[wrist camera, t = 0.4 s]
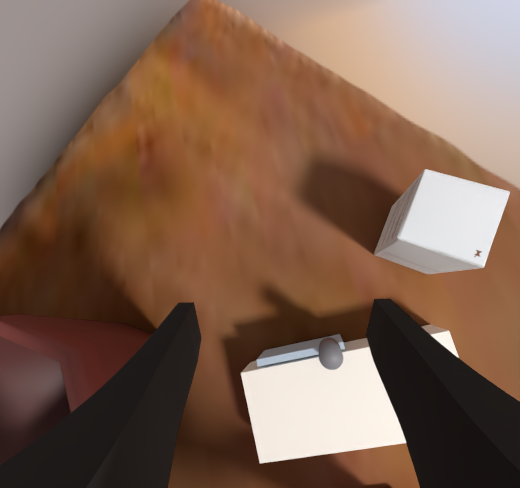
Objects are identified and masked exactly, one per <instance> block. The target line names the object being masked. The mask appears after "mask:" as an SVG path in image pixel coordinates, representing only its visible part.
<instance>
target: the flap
mask: <svg viewBox="0 0 520 488" xmlns="http://www.w3.org/2000/svg"><path fill="white" fill-rule="evenodd" d="M342 349H345V346H344V343H343V340H342V338H341V335H340V334H338V335H333V336H328V337H324V338H319V339H314V340H310V341H305V342H300V343H296V344H291V345H286V346H282V347H277V348H272V349H268V350H264V351H263V352H262V354H261V355H260V356H259V357H258V358H257V360H256V361H257V366H258V367H259V366H264V365H269V364H274V363H279V362H284V361H289V360H293V359H298V358H303V357H308V356H313V355H318V354H319V361H320V363H321V364H322V366H323V367H325V368H326V369H329V370H335V369H338V368H339V367H340V366H341V365H342V363H343V354H342V351H341V350H342Z"/></svg>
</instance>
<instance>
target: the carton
mask: <svg viewBox="0 0 520 488" xmlns="http://www.w3.org/2000/svg"><path fill="white" fill-rule="evenodd" d="M421 327H422V328H423V329H424V330H425V331H427V332H428V333H429V334H430V335H431V336H432V337H434V338H435V339H436V340H437V341H438V342H439V343H441V344H442V345H443V346H444V347H445V348H447V349H448V350H449V351H450V352H452V353H453V354H454V355H455V356H457V357H458V354H457V351H456V349H455V346H454V343H453V340H452V338H451V335H450V332H449V331H448V330H445V329H442V328H439V327H437V326H434V325H431V324H430V325H425V326H421ZM344 346H345V349H342V350H341V351H342V354H343V363H342V365H341V366H340V367H339V368H338V369H335V370H329V369H326V368H325V367H323V366H322V364H321V363H320V361H319V354H318V355H313V356H308V357H303V358H298V359H293V360H289V361H284V362H279V363H274V364H269V365H264V366H259V367H258V366H257V361H253V362H250V363H249V364H248V365H247V367H246V368H245V369H244V370H243V371H242V372H241V377H242V382H243V386H244V391H245V396H246V401H247V405H248V410H249V415H250V419H251V424H252V429H253V434H254V438H255V443H256V448H257V452H258V457H259V462H260V463H267V462H274V461H282V460H289V459H296V458H303V457H310V456H317V455H324V454H331V453H338V452H345V451H352V450H359V449H366V448H373V447H380V446H387V445H394V444H401V443H406V440H405V437H404V434H403V431H402V429H401V426H400V423H399V421H398V418H397V416H396V413H395V411H394V409H393V406H392V404H391V402H390V399H389V397H388V395H387V392H386V390H385V387H384V385H383V383H382V380H381V378H380V376H379V373H378V371H377V368H376V366H375V363H374V361H373V358H372V355H371V351H370V348H369V344H368V340H367V338H363V339H358V340H353V341H349V342H344ZM458 358H459V357H458Z"/></svg>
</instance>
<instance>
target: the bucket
mask: <svg viewBox="0 0 520 488" xmlns="http://www.w3.org/2000/svg"><path fill="white" fill-rule="evenodd" d="M151 335H152V334H151V333H148V332H146V331H143V330H140V329H138V328H135V327H132V326H130V325H127V324H124V323H113V322H102V321H91V320H79V319H68V318H57V317H45V316H34V315H23V314H17V315H6V316H0V465H1V464H3V463H4V462H6V461H7V460H9V459H10V458H12V457H13V456H14V455H16V454H17V453H19V452H20V451H22V450H23V449H24V448H26V447H27V446H28V445H30V444H31V443H33V442H34V441H35V440H37V439H38V438H39V437H41V436H42V435H43V434H45V433H46V432H47V431H49V430H50V429H51V428H53V427H54V426H55V425H57V424H58V423H59V422H60V421H62V420H63V419H64V418H65V417H67V416H68V415H69V414H70V413H72V412H73V411H74V410H75V409H76V408H78V407H79V406H80V405H81V404H82V403H84V402H85V401H86V400H87V399H88V398H89V397H91V396H92V395H93V394H94V393H95V392H96V391H97V390H99V389H100V388H101V387H102V386H103V385H104V384H105V383H106V382H107V381H108V380H109V379H110V378H111V377H113V376H114V375H115V374H116V373H117V372H118V371H119V370H120V369H121V368H122V367H123V366H124V365H125V364H126V363H127V361H128V360H129V359H130V358H131V357H132V356H133V355H134V354H135V353H136V352H137V351H138V350H139V349H140V348H141V347H142V346H143V344H144V343H145V342H146V341H147V340H148V339H149V338H150V336H151Z"/></svg>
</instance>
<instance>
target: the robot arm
mask: <svg viewBox="0 0 520 488" xmlns="http://www.w3.org/2000/svg"><path fill="white" fill-rule="evenodd" d="M366 337H367V340H368V344H369V348H370V351H371V355H372V358H373V361H374V363H375V366H376V368H377V371H378V373H379V376H380V378H381V380H382V383H383V385H384V387H385V390H386V392H387V395H388V397H389V399H390V402H391V404H392V406H393V409H394V411H395V413H396V416H397V418H398V421H399V423H400V426H401V429H402V431H403V434H404V437H405V440H406V443H407V446H408V450H409V453H410V456H411V459H412V462H413V465H414V469H415V472H416V475H417V478H418V482H419V485H420V488H520V402H519V401H518V400H516V399H515V398H513V397H512V396H510V395H509V394H507V393H506V392H504V391H503V390H501V389H500V388H499V387H497V386H496V385H494V384H493V383H491V382H490V381H489V380H487V379H486V378H484V377H483V376H481V375H480V374H479V373H477V372H476V371H475V370H473V369H472V368H471V367H469V366H468V365H467V364H465V363H464V362H463V361H462V360H460V359H459V358H458V357H457V356H455V355H454V354H453V353H452V352H450V351H449V350H448V349H447V348H445V347H444V346H443V345H442V344H441V343H439V342H438V341H437V340H436V339H435V338H434V337H432V336H431V335H430V334H429V333H428V332H427V331H425V330H424V329H423V328H422V327H421V326H420V325H419V324H418V323H416V322H415V321H414V320H413V319H412V318H411V317H410V316H409V315H408V314H406V313H405V312H404V311H403V310H402V309H401V308H400V307H399V306H398V305H397V304H395V303H394V302H393V301H392V300H391V299H374V303H373V307H372V312H371V316H370V320H369V324H368V329H367V333H366ZM200 343H201V334H200V329H199V325H198V320H197V315H196V311H195V306H194V303H178V304H177V305H176V306H175V308H174V309H173V310H172V311H171V312H170V314H169V315H168V316H167V317H166V319H165V320H164V321H163V322H162V323H161V325H160V326H159V327H158V328H157V329H156V331H155V332H154V333H153V334H152V335H151V336H150V338H149V339H148V340H147V341H146V342H145V343H144V344H143V346H142V347H141V348H140V349H139V350H138V351H137V352H136V353H135V354H134V355H133V356H132V357H131V358H130V359H129V360H128V361H127V363H126V364H125V365H124V366H123V367H122V368H121V369H120V370H119V371H118V372H117V373H116V374H115V375H114V376H113V377H111V378H110V379H109V380H108V381H107V382H106V383H105V384H104V385H103V386H102V387H101V388H100V389H99V390H97V391H96V392H95V393H94V394H93V395H92V396H91V397H89V398H88V399H87V400H86V401H85V402H84V403H82V404H81V405H80V406H79V407H78V408H76V409H75V410H74V411H73V412H72V413H70V414H69V415H68V416H67V417H65V418H64V419H63V420H62V421H60V422H59V423H58V424H57V425H55V426H54V427H53V428H51V429H50V430H49V431H47V432H46V433H45V434H43V435H42V436H41V437H39V438H38V439H37V440H35V441H34V442H33V443H31V444H30V445H28V446H27V447H26V448H24V449H23V450H22V451H20V452H19V453H17V454H16V455H14V456H13V457H12V458H10V459H9V460H7V461H6V462H4V463H3V464H1V465H0V488H168V483H169V477H170V471H171V466H172V460H173V455H174V450H175V445H176V439H177V434H178V430H179V426H180V422H181V418H182V415H183V411H184V408H185V404H186V401H187V397H188V394H189V390H190V387H191V383H192V380H193V376H194V372H195V369H196V365H197V361H198V355H199V349H200Z"/></svg>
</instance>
